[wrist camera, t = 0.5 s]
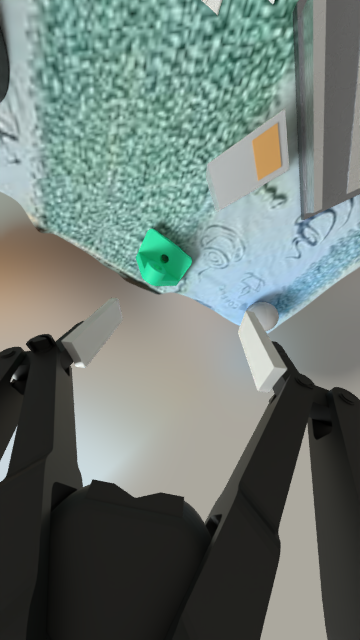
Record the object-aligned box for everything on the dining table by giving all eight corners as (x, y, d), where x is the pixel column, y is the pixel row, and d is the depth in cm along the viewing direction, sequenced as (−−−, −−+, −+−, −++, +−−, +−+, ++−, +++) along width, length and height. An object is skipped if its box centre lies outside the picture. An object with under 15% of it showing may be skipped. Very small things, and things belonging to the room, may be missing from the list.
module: (205, 177, 27) (207, 163, 21) (261, 138, 24) (285, 107, 17) (215, 212, 30) (220, 209, 23) (267, 182, 27) (289, 169, 20)
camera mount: (193, 258, 36) (192, 269, 28) (177, 282, 40) (171, 298, 32) (152, 226, 33) (136, 228, 25) (139, 255, 37) (121, 265, 29)
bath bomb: (236, 307, 42) (243, 322, 36) (263, 291, 38) (276, 305, 32) (249, 324, 45) (257, 342, 38) (275, 311, 41) (289, 328, 35)
